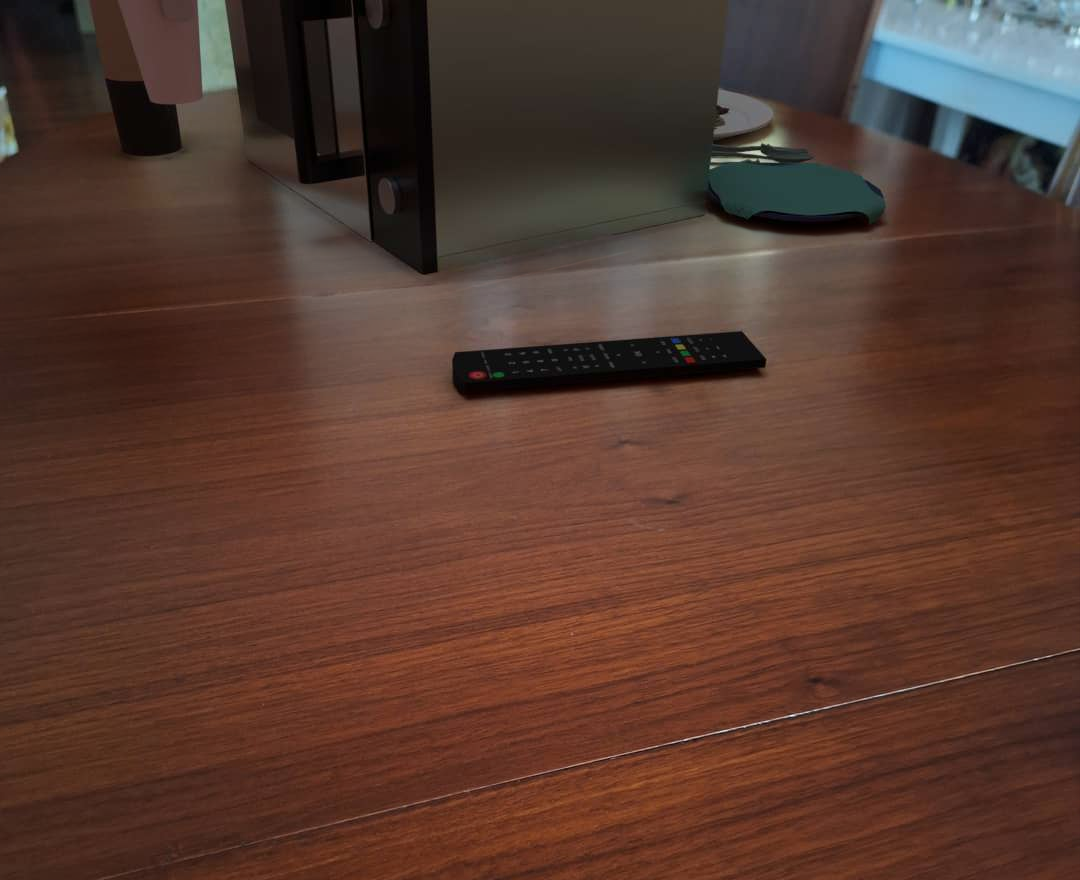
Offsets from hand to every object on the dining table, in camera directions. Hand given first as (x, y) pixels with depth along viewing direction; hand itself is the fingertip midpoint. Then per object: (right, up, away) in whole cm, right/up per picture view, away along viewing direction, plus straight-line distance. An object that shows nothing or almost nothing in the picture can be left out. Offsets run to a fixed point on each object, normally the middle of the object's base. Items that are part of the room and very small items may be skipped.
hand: (160, 11), depth 72 cm
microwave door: (-2, +1, +42) cm, 42 cm away
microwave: (+17, +4, +47) cm, 50 cm away
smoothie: (0, -5, +3) cm, 6 cm away
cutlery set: (+54, +3, +48) cm, 72 cm away
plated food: (+44, +22, +73) cm, 88 cm away
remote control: (+31, -24, +9) cm, 40 cm away
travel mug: (-22, +12, +58) cm, 63 cm away
